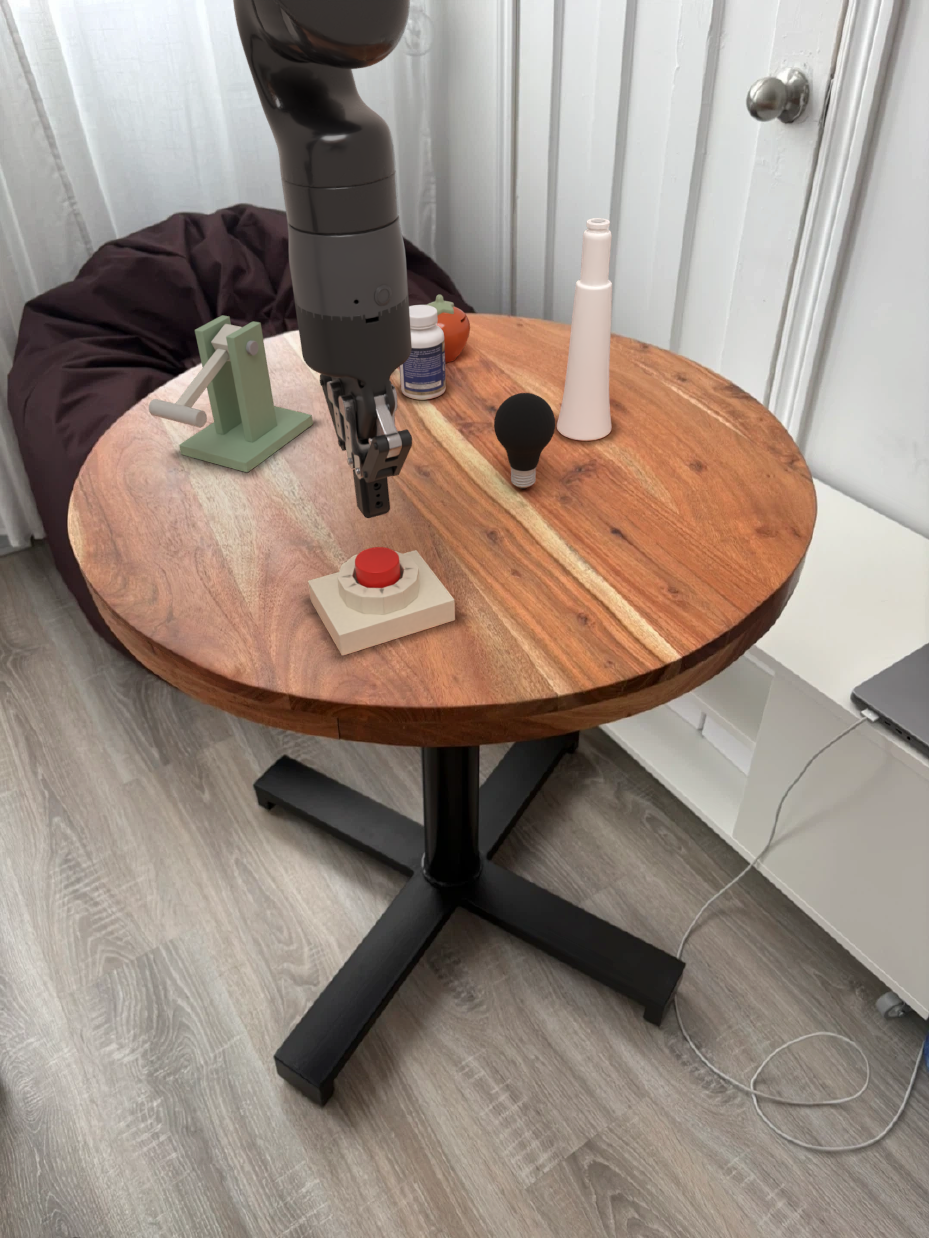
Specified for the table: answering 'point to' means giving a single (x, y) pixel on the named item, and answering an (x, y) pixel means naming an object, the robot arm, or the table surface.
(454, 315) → the tomato
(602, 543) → the table surface
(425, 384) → the pill bottle
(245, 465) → the green stand
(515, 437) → the light bulb
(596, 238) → the cosmetic bottle
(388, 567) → the button
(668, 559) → the table surface
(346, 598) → the button block
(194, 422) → the hinged lever
